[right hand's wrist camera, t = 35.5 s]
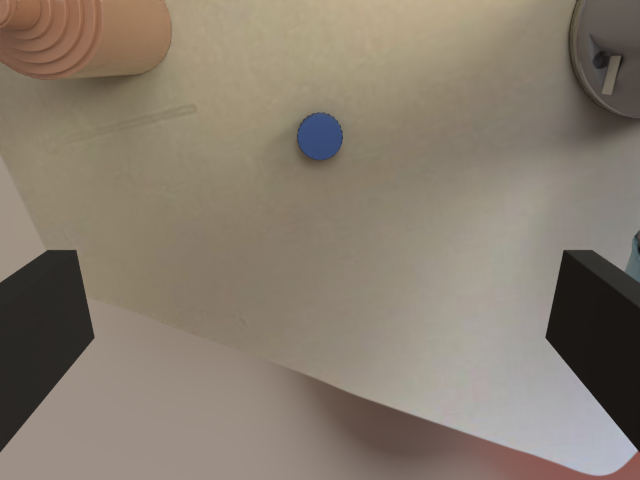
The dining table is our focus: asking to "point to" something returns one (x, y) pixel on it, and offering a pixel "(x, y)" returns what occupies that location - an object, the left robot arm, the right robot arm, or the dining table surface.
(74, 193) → the dining table surface
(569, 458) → the dining table surface
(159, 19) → the bottle
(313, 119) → the cap
